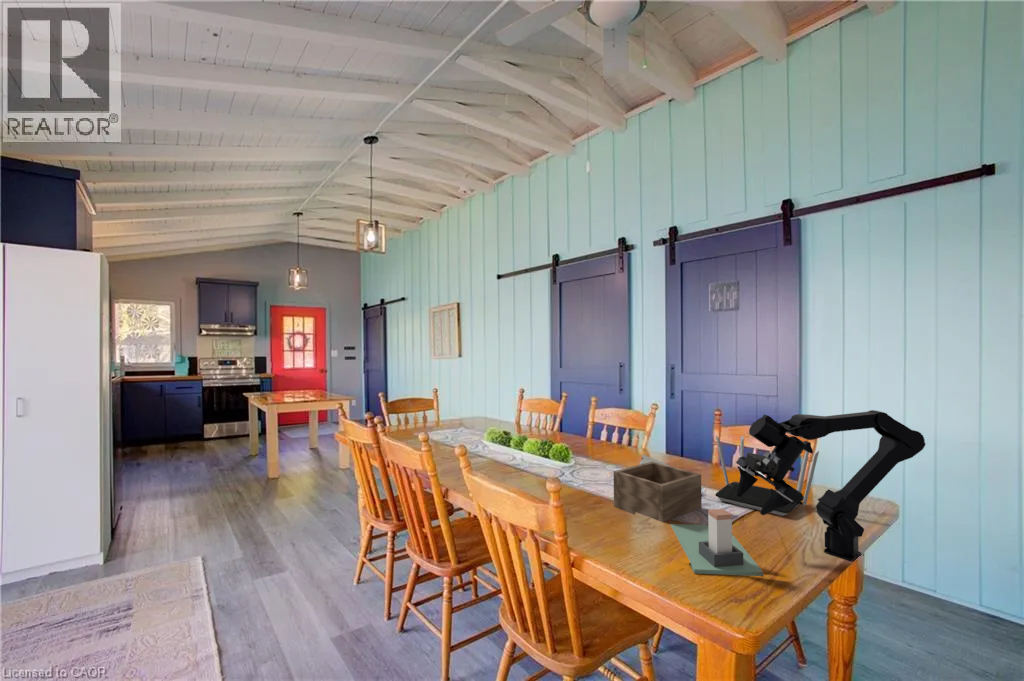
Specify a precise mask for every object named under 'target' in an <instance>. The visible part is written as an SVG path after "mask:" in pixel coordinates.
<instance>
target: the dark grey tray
mask: <svg viewBox="0 0 1024 681" xmlns="http://www.w3.org/2000/svg"><path fill="white" fill-rule="evenodd" d="M699 554H700V555H701V556H703V557H704V558H705V559H706V560H707V561H708V562H709V563H710V564H711V565H713V566H714V567H724V566H736V565H743V552H741V551H740V550H739V549H737V548H736V547H735V546H733V545H732V552H727V553H715V552H713V551H712V550H711V549H710V548H709V541H703V542H699Z"/></svg>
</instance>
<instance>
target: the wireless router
mask: <svg viewBox="0 0 1024 681" xmlns="http://www.w3.org/2000/svg"><path fill="white" fill-rule="evenodd" d="M744 438H745V437H744V435H741V436H740V439H739V440H740V442H739V443H740V448H739V450H740V451H739V452H740V454H739V455H740V456H739V457H743V456H744V455H745V448H744V447H745V445H744V444H745V441H744ZM715 440H716V444H717V449H718V454H719V459H720V463H721V468H722V471H723V472H722V473H723V477H724V482H725V486H724V487H722V488H721V489H720V490H718V491H717V492H716V493H715V494H714V495H715V497H717V498H718V499H719V501H720V502H724V503H725V502H726V503H729V504H733V505H737V506H741V507H745V508H750V509H753V510H757V511H761V510H762V508H763V506H764V505H765V503H766V502H767V500H768V499H769V497H770V496H771V488H768V487H763V486H759V485H755V484H753V485H752V486H751V487H750V488H749V489H748V490H747V491H746V492H745V493H744V494H743V495H742V496H741V497H738V496H737V495H736V494H737V490H738V486H739V482H740V481H732V482H730V481H729V476H728V473H727V468H726V464H725V458H724V454H723V450H722V445H721V440H720V438H719V437H718V435H715ZM819 454H820V451H819V450H818V451H817V452H815V454H814V455H813V458H812V462H811V467H810V470H809V475H808V480H807V483H806V488H805V493H804V494H803V500H802V501H801V503H800V504H799V505H802V506H803V507H806V506H807V504H808V498H809V495H810V491H811V487H812V483H813V482H812V481H813V478H814V474H815V470H816V467H817V466H816V465H817V462H818V457H819ZM809 455H810V453H809V452H807V451H805V452H804V456H803V460H802V464H801V468H800V474H799V476H798V477H799V478H798V480H797V481H798V482H797V486H796V488H795V489H796V490H797V491H799V492H800V493H802V491H803V486H804V480H805V476H806V475H805V474H806V470H807V466H808V465H807V464H808V460H809ZM744 457H745V456H744ZM774 490H775V491H777V490H776V489H774ZM793 503H794V504H793V505H792V504H788V505H785V506H783V507H780V508H778V509H776V510H774V511H771V512H769V513H768V514H773V515H778V516H782V517H785V516H787V515H788V514H790V513H791V512H792V511H793V510H794V509H796V508H797V507H798V506H799V505H798V504H797V503H795V502H794V501H793Z"/></svg>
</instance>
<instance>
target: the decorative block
mask: <svg viewBox="0 0 1024 681" xmlns="http://www.w3.org/2000/svg"><path fill="white" fill-rule="evenodd" d="M649 462H655V463H659V464H663V465H667V466H671V465H669V464H667V463H664V462H662V461H660V460H658V459H655V458H653V457H650V456H648V455H646V454H642V457H641V460H640V462H639V464H638V465H641V464H645V463H649ZM671 467H673V466H671Z"/></svg>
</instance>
